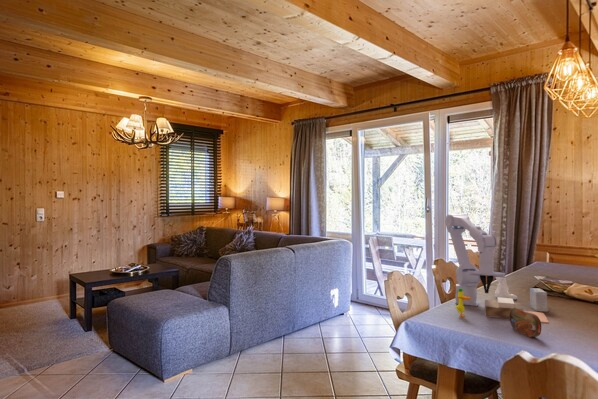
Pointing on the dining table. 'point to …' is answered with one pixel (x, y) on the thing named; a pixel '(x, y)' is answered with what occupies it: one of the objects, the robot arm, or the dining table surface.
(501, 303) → the thick cream tile
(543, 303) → the medicine box
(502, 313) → the wooden block
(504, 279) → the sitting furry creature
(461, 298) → the toy figure
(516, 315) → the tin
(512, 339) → the dining table surface
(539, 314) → the mat
